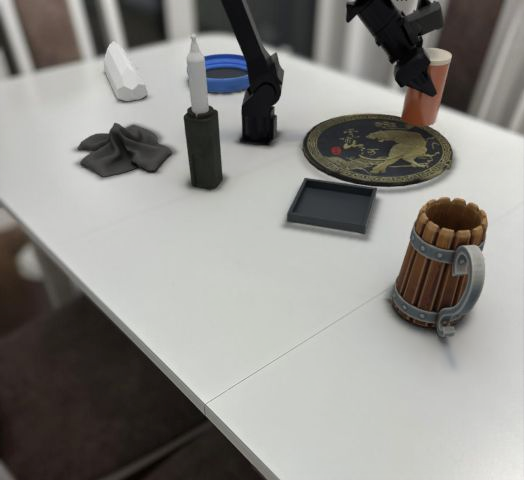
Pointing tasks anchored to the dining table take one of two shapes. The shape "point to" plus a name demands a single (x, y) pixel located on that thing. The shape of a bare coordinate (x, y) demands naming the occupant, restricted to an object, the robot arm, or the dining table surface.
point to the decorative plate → (377, 150)
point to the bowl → (226, 72)
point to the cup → (419, 104)
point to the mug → (442, 265)
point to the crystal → (123, 74)
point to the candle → (201, 126)
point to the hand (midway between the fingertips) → (432, 87)
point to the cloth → (123, 150)
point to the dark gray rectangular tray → (332, 205)
